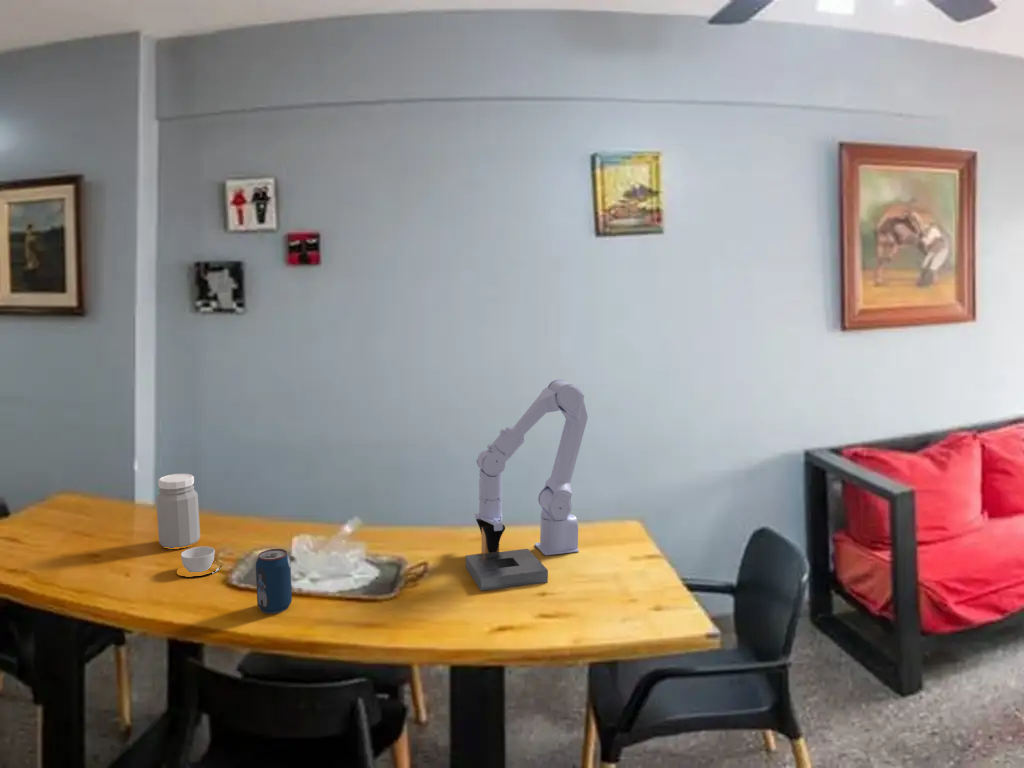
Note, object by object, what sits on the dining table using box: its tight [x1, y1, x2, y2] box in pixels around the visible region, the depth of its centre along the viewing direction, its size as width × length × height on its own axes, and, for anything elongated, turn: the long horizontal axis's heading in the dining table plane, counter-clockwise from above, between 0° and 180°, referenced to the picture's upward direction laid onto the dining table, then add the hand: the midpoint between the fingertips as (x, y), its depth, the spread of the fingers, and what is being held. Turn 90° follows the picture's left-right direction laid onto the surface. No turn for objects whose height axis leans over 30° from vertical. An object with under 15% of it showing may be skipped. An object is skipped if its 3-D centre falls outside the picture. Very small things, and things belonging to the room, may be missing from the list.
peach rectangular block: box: [481, 528, 500, 554], centre depth 179 cm, size 4×4×7 cm
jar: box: [155, 473, 201, 548], centre depth 184 cm, size 10×10×18 cm
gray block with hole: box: [465, 548, 549, 592], centre depth 167 cm, size 16×14×3 cm
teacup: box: [180, 546, 220, 574], centre depth 169 cm, size 10×10×5 cm
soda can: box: [255, 548, 293, 615], centre depth 149 cm, size 7×7×12 cm
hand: (490, 548), depth 179 cm, fingers closed on peach rectangular block, 4 cm apart
